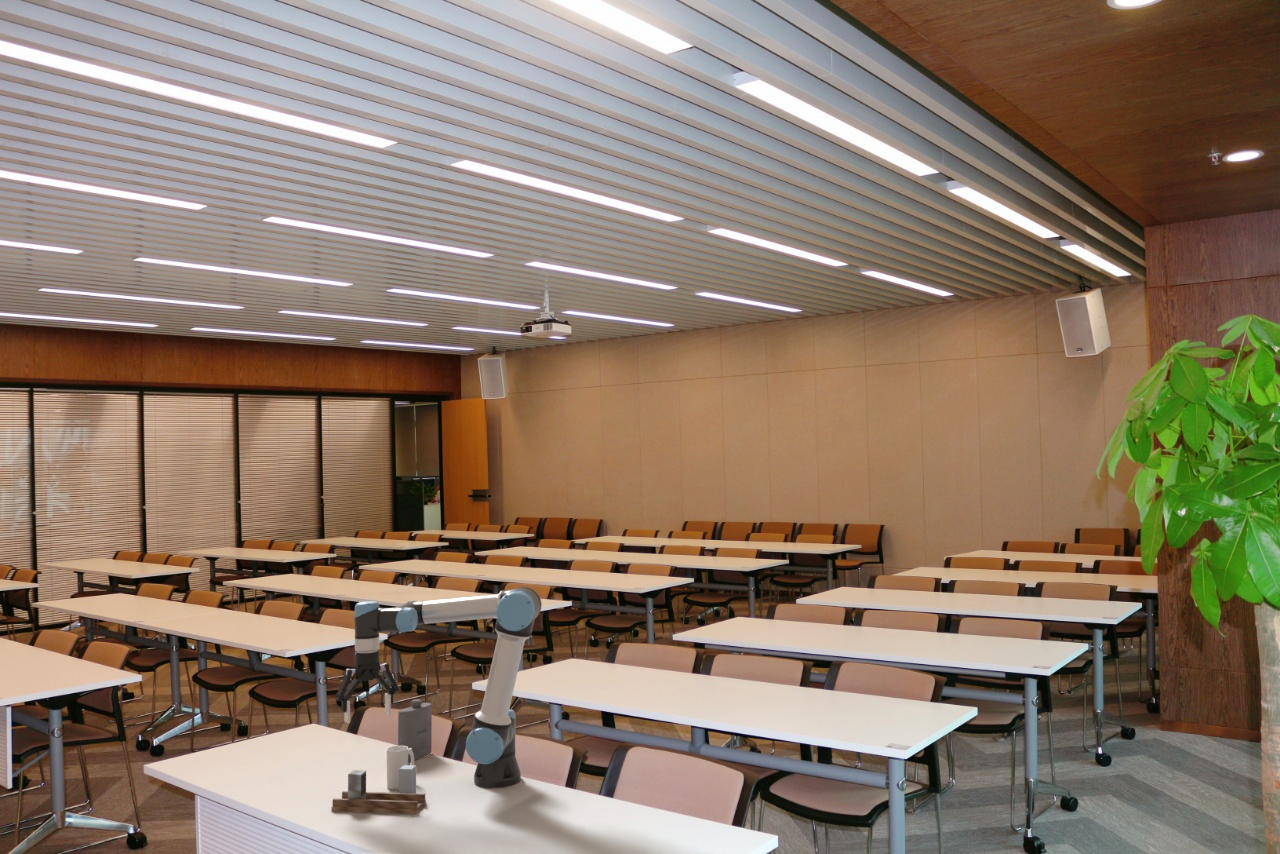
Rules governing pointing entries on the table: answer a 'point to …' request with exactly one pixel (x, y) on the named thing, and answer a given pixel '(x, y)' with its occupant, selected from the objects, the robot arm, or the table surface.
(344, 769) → the table surface
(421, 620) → the robot arm
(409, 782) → the block
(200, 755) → the table surface
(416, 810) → the rail
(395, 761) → the mug
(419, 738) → the flask
